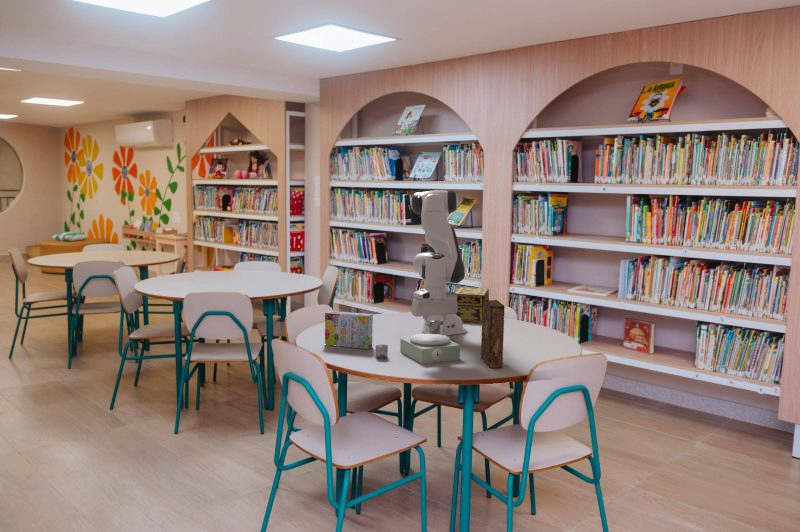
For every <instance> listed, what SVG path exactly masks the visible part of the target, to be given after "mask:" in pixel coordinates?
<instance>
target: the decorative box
mask: <svg viewBox="0 0 800 532" xmlns="http://www.w3.org/2000/svg"><path fill="white" fill-rule="evenodd" d="M489 291H490V289H489V288H488V287H468V286H467V287H466V286H459V287H457V288H456V289H455V291H453V292H454V293H456V294H457V306H458V311H457V313H456V315H457V316H458V317H459V318H461V320H462V323H471V324H473V323H474V324H477V323H478V324H482V308H483V300H490V292H489Z"/></svg>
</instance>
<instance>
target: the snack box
mask: <svg viewBox="0 0 800 532" xmlns="http://www.w3.org/2000/svg"><path fill="white" fill-rule="evenodd" d="M373 315H374V314H373V313H363V312H362V313H361V312H348V311H334V310H330V311H329V310H328V311H326V312H325V313H324V345H325V344H326V345H325V346H328V345H336V346H335V347H339V346H344V347H343V348H349V347H352V349H359V348H360V350H369V349H371V347H373V326H374V325H373V324H374V323H373V318H374V317H373Z"/></svg>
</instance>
